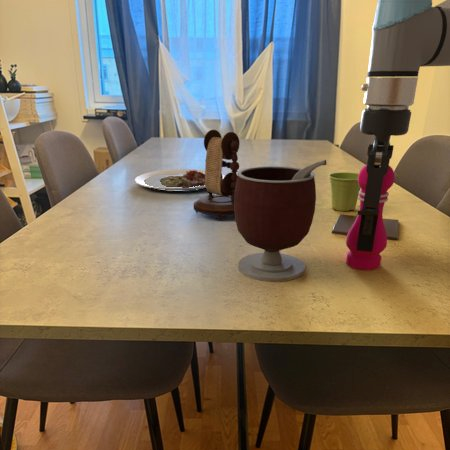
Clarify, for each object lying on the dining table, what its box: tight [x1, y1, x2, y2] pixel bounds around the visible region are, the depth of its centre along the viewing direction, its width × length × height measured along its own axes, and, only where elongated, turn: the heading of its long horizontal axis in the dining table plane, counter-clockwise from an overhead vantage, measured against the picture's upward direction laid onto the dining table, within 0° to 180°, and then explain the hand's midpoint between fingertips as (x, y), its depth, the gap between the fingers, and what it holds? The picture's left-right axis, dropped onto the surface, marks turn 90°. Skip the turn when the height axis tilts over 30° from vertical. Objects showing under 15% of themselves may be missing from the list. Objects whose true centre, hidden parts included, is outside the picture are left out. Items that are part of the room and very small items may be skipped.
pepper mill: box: [345, 164, 395, 271], centre depth 77 cm, size 7×7×20 cm
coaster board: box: [331, 213, 399, 241], centre depth 101 cm, size 14×14×1 cm
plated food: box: [134, 168, 226, 191], centre depth 142 cm, size 30×30×3 cm
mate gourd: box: [234, 159, 327, 283], centre depth 75 cm, size 16×14×20 cm
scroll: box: [193, 129, 241, 221], centre depth 107 cm, size 15×15×20 cm
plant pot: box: [328, 171, 361, 212], centre depth 114 cm, size 9×9×9 cm
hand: (365, 243), depth 80 cm, fingers closed on pepper mill, 7 cm apart
